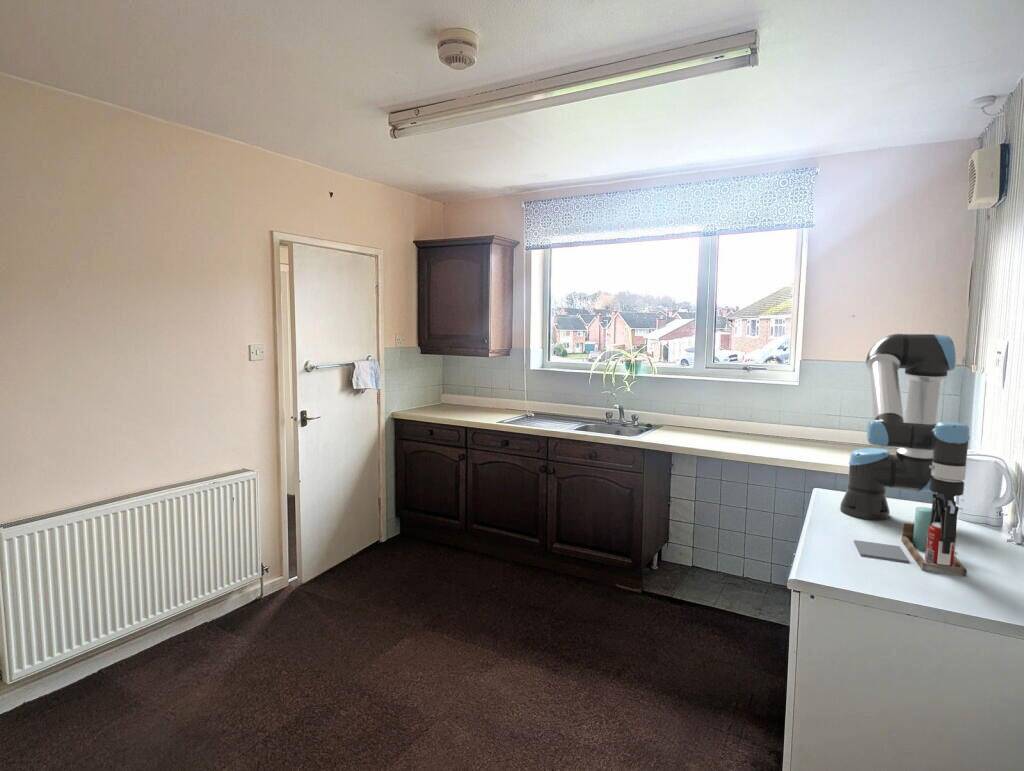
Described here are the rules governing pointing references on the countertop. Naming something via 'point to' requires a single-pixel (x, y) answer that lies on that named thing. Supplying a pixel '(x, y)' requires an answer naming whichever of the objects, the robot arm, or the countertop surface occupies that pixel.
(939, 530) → the beverage can
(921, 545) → the can
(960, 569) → the dispenser rack
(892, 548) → the coaster
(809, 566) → the countertop surface
